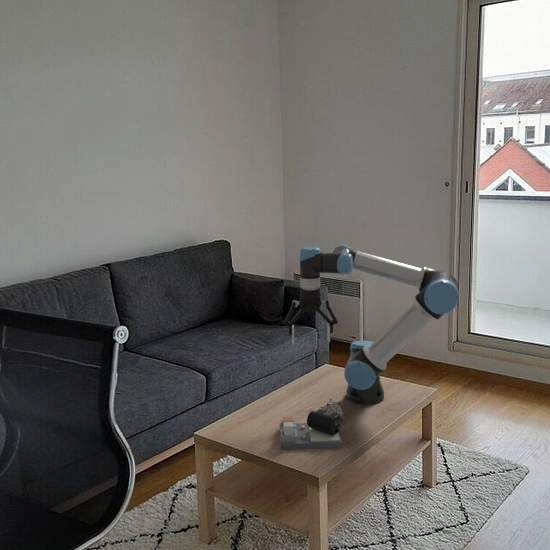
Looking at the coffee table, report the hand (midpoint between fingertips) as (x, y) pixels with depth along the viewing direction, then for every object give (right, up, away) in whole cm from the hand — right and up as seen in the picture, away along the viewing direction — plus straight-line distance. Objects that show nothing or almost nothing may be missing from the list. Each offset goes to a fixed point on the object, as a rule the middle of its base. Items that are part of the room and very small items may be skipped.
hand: (311, 341), depth 254 cm
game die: (+8, -29, -7) cm, 31 cm away
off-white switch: (-9, -29, -24) cm, 39 cm away
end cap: (+4, -30, -20) cm, 36 cm away
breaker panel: (-1, -32, -20) cm, 37 cm away
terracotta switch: (-9, -29, -17) cm, 35 cm away
